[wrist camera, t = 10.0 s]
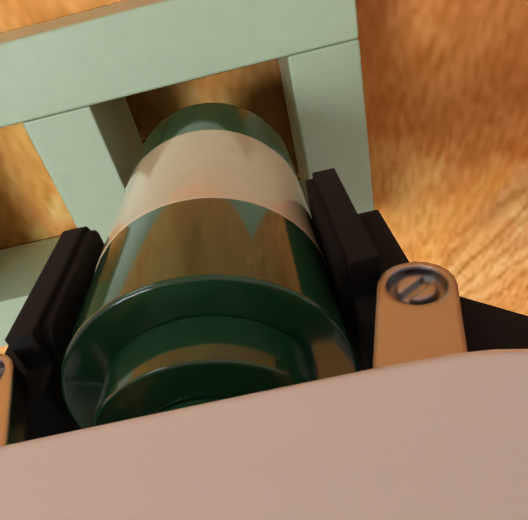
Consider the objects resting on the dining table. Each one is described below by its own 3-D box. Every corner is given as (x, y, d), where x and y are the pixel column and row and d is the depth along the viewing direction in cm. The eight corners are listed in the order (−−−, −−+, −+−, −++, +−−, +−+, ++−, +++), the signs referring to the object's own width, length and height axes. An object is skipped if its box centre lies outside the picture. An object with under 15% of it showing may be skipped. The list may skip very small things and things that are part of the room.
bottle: (214, 63, 14) (201, 489, 3) (324, 181, 16) (529, 645, 5) (103, 179, 15) (-156, 707, 5) (217, 270, 18) (215, 752, 7)
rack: (-181, 80, 17) (-290, 119, 13) (321, -52, 16) (352, -49, 12) (-21, 295, 23) (-66, 362, 20) (352, 209, 22) (379, 263, 18)
